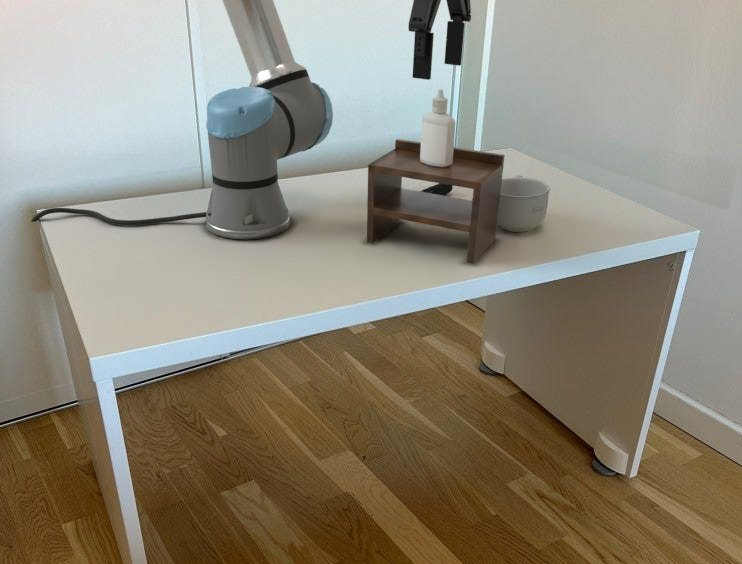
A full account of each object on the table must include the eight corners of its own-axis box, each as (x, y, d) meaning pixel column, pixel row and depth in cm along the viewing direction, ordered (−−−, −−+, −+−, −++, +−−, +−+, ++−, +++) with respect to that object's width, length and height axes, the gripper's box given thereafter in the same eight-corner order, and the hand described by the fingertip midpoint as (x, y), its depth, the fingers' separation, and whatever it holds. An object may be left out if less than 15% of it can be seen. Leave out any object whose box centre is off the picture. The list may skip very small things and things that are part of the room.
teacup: (539, 240, 137) (545, 197, 132) (480, 232, 139) (484, 190, 135) (549, 215, 148) (555, 175, 144) (495, 208, 151) (499, 168, 146)
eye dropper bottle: (432, 169, 125) (436, 94, 119) (417, 160, 129) (420, 87, 123) (455, 167, 126) (461, 92, 120) (439, 158, 131) (444, 85, 125)
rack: (366, 242, 134) (368, 155, 126) (394, 221, 143) (397, 138, 135) (473, 264, 127) (482, 173, 119) (495, 240, 136) (504, 154, 128)
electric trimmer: (456, 195, 157) (458, 180, 156) (414, 214, 147) (415, 198, 145) (441, 191, 159) (443, 176, 158) (398, 209, 149) (399, 194, 147)
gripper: (441, -82, 98) (430, 88, 110) (499, -83, 118) (485, 61, 129) (389, -84, 101) (383, 81, 112) (454, -85, 120) (444, 56, 132)
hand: (437, 71), depth 121 cm, fingers open, 13 cm apart
